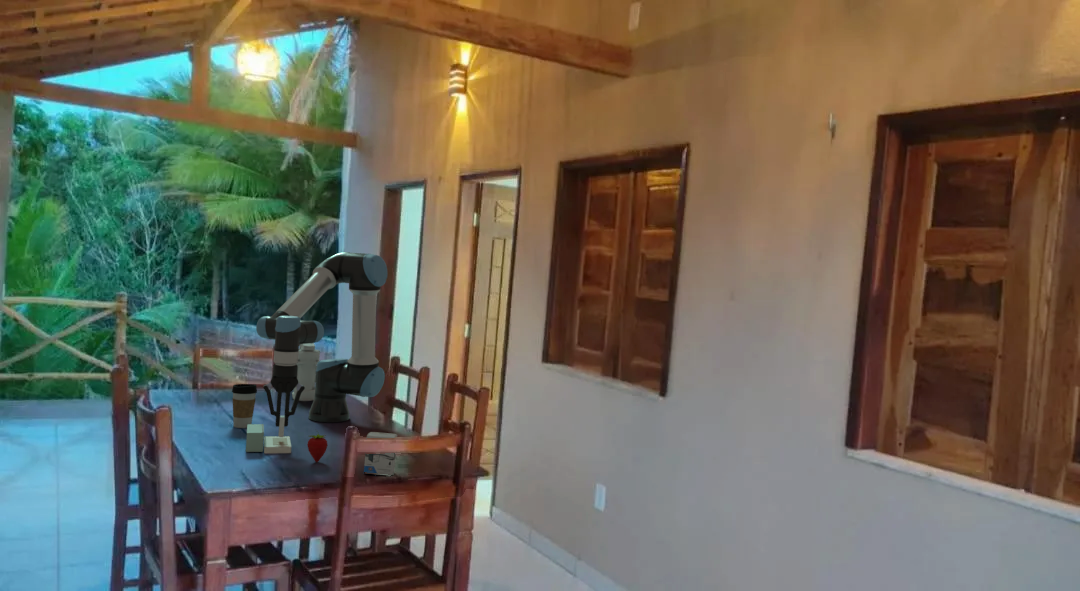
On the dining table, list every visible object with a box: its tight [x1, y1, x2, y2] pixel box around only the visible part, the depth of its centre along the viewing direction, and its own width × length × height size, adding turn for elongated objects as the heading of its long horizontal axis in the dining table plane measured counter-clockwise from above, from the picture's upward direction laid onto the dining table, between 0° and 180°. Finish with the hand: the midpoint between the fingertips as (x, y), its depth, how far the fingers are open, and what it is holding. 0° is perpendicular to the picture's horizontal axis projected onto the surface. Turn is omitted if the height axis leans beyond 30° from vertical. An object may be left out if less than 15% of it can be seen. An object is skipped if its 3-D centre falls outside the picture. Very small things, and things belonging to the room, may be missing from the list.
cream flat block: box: [263, 435, 292, 454], centre depth 246 cm, size 8×14×2 cm, turn 20°
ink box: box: [363, 431, 398, 475], centre depth 226 cm, size 9×5×12 cm, turn 92°
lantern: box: [291, 343, 321, 402], centre depth 330 cm, size 13×10×25 cm
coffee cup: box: [231, 383, 258, 429], centre depth 271 cm, size 8×8×15 cm
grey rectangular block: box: [245, 423, 265, 453], centre depth 244 cm, size 5×12×6 cm, turn 20°
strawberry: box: [307, 429, 328, 463], centre depth 233 cm, size 6×8×10 cm
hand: (280, 436), depth 247 cm, fingers closed
